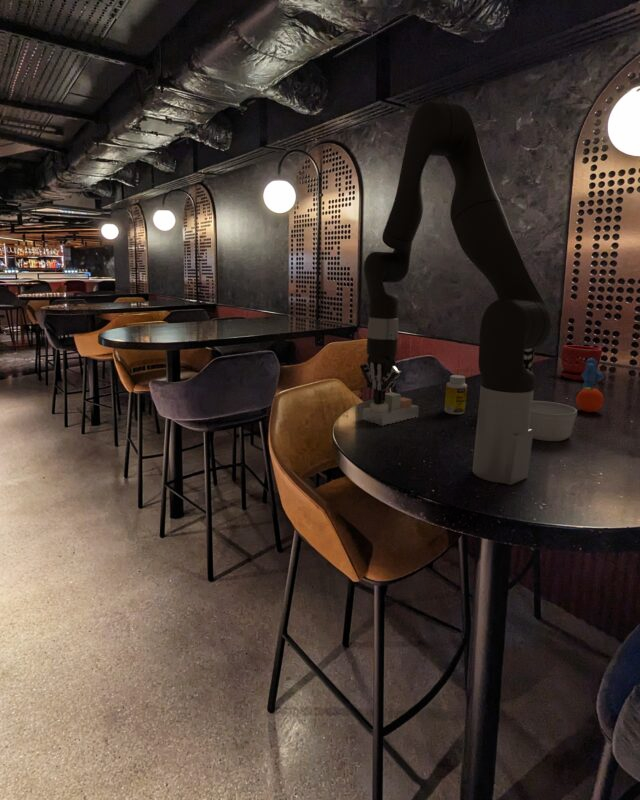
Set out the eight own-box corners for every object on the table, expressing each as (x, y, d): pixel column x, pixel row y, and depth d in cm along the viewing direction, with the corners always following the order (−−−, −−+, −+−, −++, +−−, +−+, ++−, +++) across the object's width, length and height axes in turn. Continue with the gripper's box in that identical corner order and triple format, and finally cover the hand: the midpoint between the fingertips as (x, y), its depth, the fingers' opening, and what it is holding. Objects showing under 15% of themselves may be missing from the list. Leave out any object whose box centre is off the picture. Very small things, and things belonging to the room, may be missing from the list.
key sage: (399, 409, 132) (400, 394, 131) (391, 411, 130) (392, 396, 129) (390, 406, 135) (391, 392, 134) (382, 408, 133) (383, 393, 132)
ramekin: (502, 429, 126) (505, 402, 124) (544, 424, 130) (547, 398, 129) (542, 446, 114) (546, 416, 112) (586, 440, 118) (590, 411, 117)
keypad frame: (418, 417, 135) (418, 406, 134) (382, 426, 126) (382, 414, 125) (398, 411, 140) (398, 400, 139) (362, 419, 131) (362, 408, 130)
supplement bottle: (455, 416, 136) (458, 379, 134) (439, 411, 141) (442, 375, 138) (469, 413, 139) (472, 377, 137) (453, 408, 144) (456, 373, 141)
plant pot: (596, 383, 181) (601, 350, 178) (556, 379, 188) (560, 347, 185) (598, 377, 192) (603, 346, 189) (560, 373, 199) (565, 343, 196)
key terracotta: (410, 413, 136) (411, 399, 135) (402, 415, 134) (403, 401, 133) (401, 411, 138) (402, 397, 137) (393, 413, 136) (394, 398, 135)
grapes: (601, 398, 159) (607, 361, 156) (577, 395, 162) (583, 359, 159) (601, 391, 169) (607, 356, 166) (579, 389, 172) (584, 354, 169)
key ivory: (387, 419, 130) (388, 404, 129) (378, 421, 128) (379, 405, 127) (378, 416, 132) (379, 401, 131) (369, 418, 130) (370, 403, 129)
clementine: (565, 409, 146) (569, 385, 144) (581, 406, 149) (585, 383, 147) (591, 416, 139) (595, 391, 137) (607, 413, 142) (611, 388, 140)
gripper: (353, 334, 127) (350, 400, 132) (392, 340, 117) (388, 411, 122) (373, 332, 132) (370, 396, 136) (413, 338, 122) (408, 406, 126)
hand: (379, 403), depth 129 cm, fingers closed
